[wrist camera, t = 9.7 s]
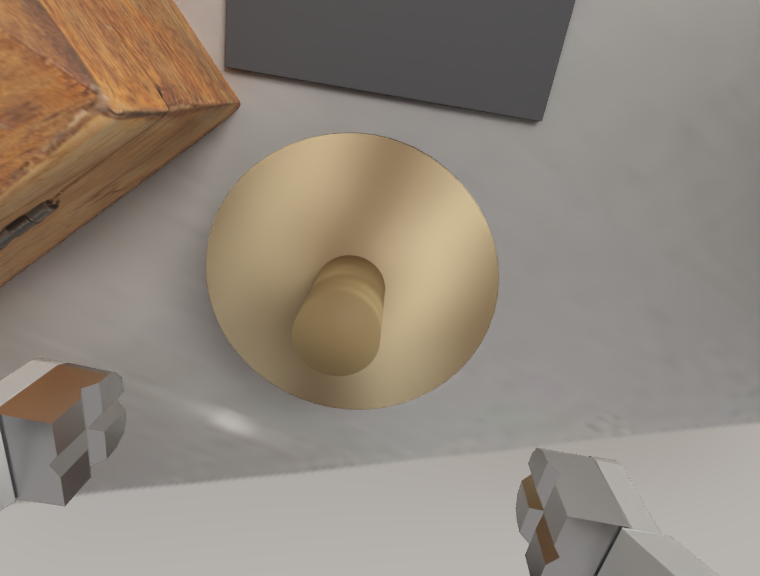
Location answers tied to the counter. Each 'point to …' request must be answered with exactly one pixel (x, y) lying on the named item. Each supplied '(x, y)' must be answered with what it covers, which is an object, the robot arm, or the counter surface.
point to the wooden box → (92, 111)
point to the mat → (408, 47)
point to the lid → (352, 271)
